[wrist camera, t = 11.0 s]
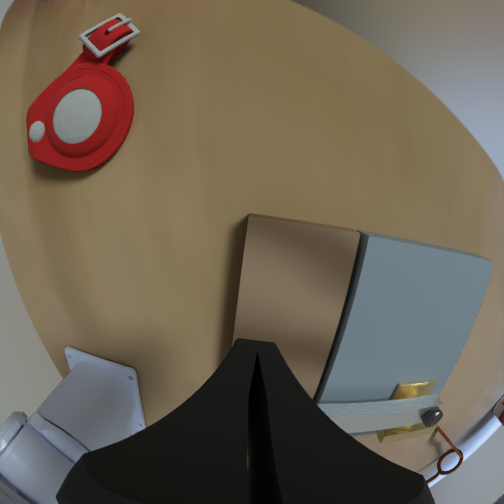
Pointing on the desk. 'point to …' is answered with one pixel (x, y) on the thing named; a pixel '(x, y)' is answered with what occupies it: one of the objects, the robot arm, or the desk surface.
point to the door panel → (402, 319)
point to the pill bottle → (499, 410)
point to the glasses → (446, 455)
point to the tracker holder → (85, 104)
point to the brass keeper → (416, 429)
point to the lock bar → (385, 413)
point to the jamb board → (295, 289)
